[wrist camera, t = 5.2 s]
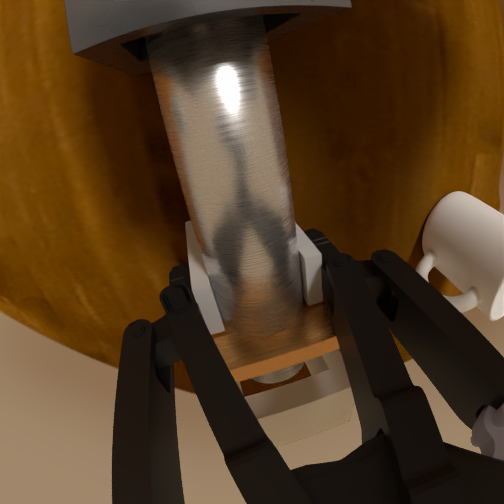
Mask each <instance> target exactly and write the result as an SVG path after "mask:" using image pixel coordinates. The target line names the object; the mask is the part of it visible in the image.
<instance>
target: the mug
mask: <svg viewBox="0 0 504 504" xmlns="http://www.w3.org/2000/svg"><path fill="white" fill-rule="evenodd" d="M422 248H423V252H424V255H425V256H424V257H423V258H422V259H421V260H420V262H419V263H418V265H417V267H416V270H415V271H416V272H418V273H419V274H420V275H421V276H422V277H423V278H424V279H425V280H427V281H428V273H429V271H430V270H431V269H432V268H433V267H435V268H436V269H438V270H439V271H440V272H441V273H442V274H443V275H444V276H445V277H447V278H448V279H449V280H450V281H451V282H452V283H453V284H454V285H455V286H456V287H457V288H458V289H459V290H460V291H461V292H463V293H464V294H462V295H460V296H455V297H450V296H445V295H443V296H444V297H445V298H446V299H447V300H448V301H449V302H450V303H451V304H452V305H453V306H454V307H455V308H456V309H457V310H459V311H460V312H461V313H462V312H465V311H468V310H470V309H472V308H474V307H476V306H477V307H478V308H479V309H480V310H481V311H482V312H483V313H484V314H485V315H486V316H487V317H488V318H489V319H490V320H491V321H495V320H498V319H500V318H501V317H502V316H503V315H504V215H503V214H501V213H500V212H498V211H497V210H495V209H493V208H492V207H490V206H488V205H487V204H485V203H483V202H482V201H480V200H478V199H477V198H475V197H473V196H471V195H469V194H467V193H464V192H461V191H457V192H452V193H450V194H448V195H446V196H445V197H443V198H442V199H441V200H440V201H439V202H438V203H437V204H436V205H435V207H434V208H433V209H432V211H431V213H430V215H429V217H428V219H427V221H426V224H425V227H424V230H423V236H422ZM428 282H429V281H428Z"/></svg>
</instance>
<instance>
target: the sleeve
mask: <svg viewBox="0 0 504 504" xmlns="http://www.w3.org/2000/svg"><path fill="white" fill-rule="evenodd" d="M65 8H66V16H67V23H68V30H69V36H70V42H71V48H72V53H73V54H74V55H77V56H80V57H83V58H86V59H89V60H92V61H95V62H98V63H101V64H104V65H107V66H110V67H112V68H115V69H118V70H120V71H123V72H126V73H128V74H131V75H133V76H138V75H141V74H144V73H147V72H151V71H152V70H151V65H150V61H149V56H148V51H147V47H146V42H145V36H148V35H152V34H155V33H159V32H163V31H166V30H171V29H175V28H179V27H183V26H188V25H193V24H198V23H203V22H209V21H215V20H221V19H228V18H235V17H244V16H254V15H262V16H263V21H264V26H265V31H266V36H267V41H268V42H269V41H271V40H273V39H276V38H278V37H280V36H282V35H284V34H286V33H288V32H291V31H293V30H295V29H297V28H300V27H302V26H304V25H307V24H309V23H312V22H314V21H316V20H319V19H322V18H324V17H327V16H329V15H332V14H335V13H338V12H340V11H343V10H346V9H349V8H352V6H351V1H350V0H65Z"/></svg>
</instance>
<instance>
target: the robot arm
mask: <svg viewBox="0 0 504 504" xmlns="http://www.w3.org/2000/svg"><path fill="white" fill-rule="evenodd" d="M295 225H296V234H297V243H298V252H299V262H300V272H301V283H302V294H303V298H304V300H305V301H306V303H307V305H308V306H310V305H313V304H316V303H319V302H322V301H323V293H324V295H325V296H326V298H327V311H329V315H330V318H331V321H332V324H333V327H334V331H335V334H336V337H337V341H338V344H339V347H340V351H341V354H342V358H343V361H344V365H345V368H346V372H347V375H348V379H349V382H350V386H351V390H352V393H353V397H354V401H355V405H356V409H357V412H358V416H359V420H360V424H361V429H362V445H361V446H359V447H358V448H357V449H355V450H354V451H353V452H351V453H350V454H349V455H347V456H346V457H345V458H343V459H341V460H339V461H334V462H327V463H319V464H311V465H305V466H302V467H299V468H296V469H293V470H290V469H289V468H288V466H287V464H286V463H285V462H284V460H283V458H282V457H281V455H280V453H279V452H278V450H277V449H276V447H275V446H274V444H273V443H272V441H271V440H270V439H269V438H268V436H267V435H266V433H265V432H264V430H263V428H262V427H261V425H260V423H259V422H258V420H257V418H256V416H255V415H254V413H253V411H252V410H251V408H250V406H249V404H248V403H247V401H246V399H245V397H244V396H243V394H242V392H241V390H240V388H239V387H238V385H237V383H236V381H235V379H234V377H233V376H232V374H231V372H230V370H229V368H228V366H227V365H226V363H225V361H224V359H223V357H222V355H221V353H220V351H219V349H218V347H217V345H216V344H215V342H214V340H213V338H212V336H211V334H215V333H219V332H223V331H225V328H224V324H223V320H222V316H221V313H220V310H219V307H218V304H217V301H216V298H215V295H214V292H213V289H212V286H211V283H210V280H209V277H208V274H207V271H206V267H205V264H204V261H203V258H202V255H201V252H200V248H199V245H198V242H197V239H196V235H195V232H194V229H193V226H192V222H191V221H187V222H185V227H186V239H187V249H188V260H189V263H187V264H183V265H180V266H176V267H173V268H172V270H171V272H170V274H169V281H170V282H169V286H167V287H166V288H165V289H163V290H162V292H161V293H160V301H161V303H162V305H163V308H164V310H165V312H166V315H164V316H163V317H162V318H161V319H159V320H157V321H155V322H153V323H150V322H149V321H148V320H145V319H140V320H136V321H134V322H132V323H131V324H129V325H128V326H127V328H126V329H125V331H124V335H123V341H122V348H121V355H120V363H119V371H118V380H117V390H116V399H115V412H114V426H113V446H112V504H185V503H184V495H183V487H182V480H181V470H180V461H179V450H178V438H177V426H176V410H175V391H174V365H173V363H175V362H177V361H179V360H181V359H183V362H184V364H185V367H186V370H187V372H188V375H189V377H190V380H191V382H192V385H193V387H194V390H195V392H196V395H197V397H198V399H199V402H200V404H201V406H202V409H203V411H204V413H205V416H206V418H207V420H208V422H209V425H210V427H211V429H212V431H213V433H214V436H215V437H216V440H217V442H218V444H219V446H220V448H221V450H222V452H223V454H224V460H225V462H226V465H227V467H228V469H229V471H230V473H231V475H232V477H233V479H234V481H235V483H236V485H237V487H238V488H239V490H240V492H241V494H242V496H243V498H244V499H245V501H246V503H247V504H504V358H503V356H502V355H501V354H500V353H499V352H498V351H497V350H496V349H495V348H494V346H493V345H492V344H491V343H490V342H489V341H488V340H487V339H486V338H485V337H484V336H483V335H482V334H481V333H480V332H479V331H478V330H477V329H476V327H475V326H474V325H473V324H472V323H471V322H469V320H467V318H466V317H464V315H463V314H462V313H461V312H460V311H459V310H457V309H456V308H455V307H454V306H453V305H452V304H451V303H450V302H449V301H448V300H447V299H446V298H445V297H444V296H443V295H442V294H441V293H440V292H439V291H437V290H436V289H435V288H434V287H433V286H432V285H431V284H430V283H429V282H428V281H427V280H425V279H424V278H423V277H422V276H421V275H420V274H419V273H418V272H416V271H415V270H414V269H413V268H412V267H411V266H410V265H408V264H407V263H406V262H405V261H404V260H403V259H402V258H400V257H399V256H398V255H397V254H396V253H394V252H392V251H389V250H377V251H375V252H374V253H373V254H372V255H371V260H365V261H355V260H354V258H353V257H352V256H350V255H348V254H343V253H340V252H339V251H338V250H337V249H336V248H335V246H334V245H333V244H332V243H331V242H329V240H328V239H327V238H326V237H325V236H324V234H323V233H322V232H320V231H318V230H316V229H310V230H306V231H302V230H301V228H300V227H299V226H298V225H297V224H296V222H295ZM389 329H390V330H391V332H392V333H393V334H394V335H395V337H396V338H397V339H398V340H399V341H400V343H401V344H402V345H403V346H404V348H405V349H406V350H407V351H408V353H409V354H410V355H411V356H412V358H413V359H414V360H415V361H416V363H417V364H418V365H419V366H420V368H421V369H422V370H423V372H424V373H425V374H426V375H427V377H428V378H429V379H430V381H431V382H432V383H433V385H434V386H435V387H436V389H437V390H438V391H439V393H440V394H441V395H442V396H443V398H444V399H445V400H446V402H447V403H448V404H449V406H450V407H451V408H452V410H453V411H454V412H455V414H456V415H457V416H458V417H459V419H460V420H461V421H462V422H464V423H465V425H467V426H468V427H469V428H470V429H472V437H471V443H472V445H474V446H476V447H479V448H480V450H481V454H479V453H476V452H473V451H469V450H466V449H463V448H460V447H457V446H454V445H451V444H448V443H445V442H443V440H442V438H441V435H440V432H439V429H438V426H437V424H436V421H435V418H434V415H433V413H432V410H431V408H430V405H429V403H428V400H427V397H426V395H425V393H424V391H423V390H422V388H421V387H419V386H414V385H413V383H412V381H411V379H410V377H409V374H408V372H407V369H406V367H405V365H404V362H403V360H402V357H401V355H400V353H399V351H398V348H397V346H396V344H395V342H394V339H393V337H392V335H391V333H390V330H389Z"/></svg>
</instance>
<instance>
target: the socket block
mask: <svg viewBox="0 0 504 504" xmlns="http://www.w3.org/2000/svg"><path fill="white" fill-rule="evenodd" d="M305 363H306V365H307V367H308V369H309V371H310V373H311V376H310V377H307V378H304V379H301V380H298V381H295V382H292V383H289V384H286V385H283V386H280V387H277V388H274V389H270V390H267V391H264V392H260V393H257V394H253V395H250V396H246V397H245V399H246V401H247V403H248V404H249V406H250V408H251V410H252V411H253V413H254V415H255V416H256V418H257V420H258V422H259V423H260V425H261V427H262V428H263V430H264V432H265V433H266V435H267V436H268V438H269V439H270V440H271V441H272V443H273V444H274V446H275V447H279V446H282V445H285V444H288V443H291V442H294V441H298V440H301V439H303V438H306V437H309V436H312V435H315V434H318V433H320V432H323V431H326V430H328V429H331V428H333V427H336V426H338V425H341V424H343V423H346V422H348V421H350V418H351V414H352V410H353V406H354V397H353V393H352V390H351V386H350V382H349V379H348V375H347V372H346V368H345V365H344V361H343V358H342V354H341V352H340V351H339V349H337V350H334V351H332V352H329V353H326V354H324V355H321V356H318V357H315V358H313V359H310V360H307V361H305ZM236 383H237V385H238V387H239V388H240V390H241V392H242V388H241V384H240V381H239V382H236ZM242 394H243V392H242ZM243 396H244V395H243Z"/></svg>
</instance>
